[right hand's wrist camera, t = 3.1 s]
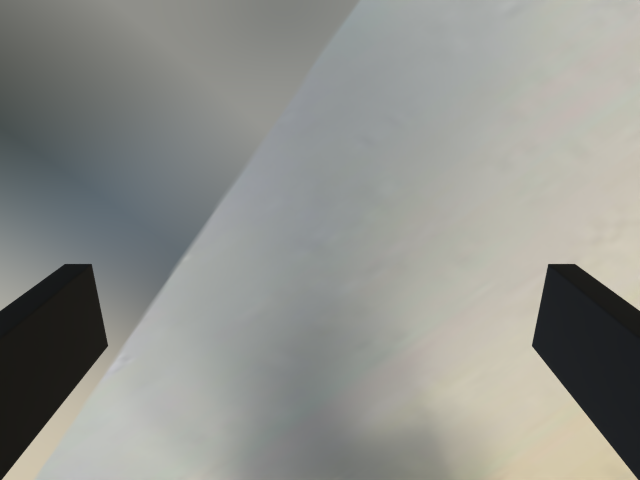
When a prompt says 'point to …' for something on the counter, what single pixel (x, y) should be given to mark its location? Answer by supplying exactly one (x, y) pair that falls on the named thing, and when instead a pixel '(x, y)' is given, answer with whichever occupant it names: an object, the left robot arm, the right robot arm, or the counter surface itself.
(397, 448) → the counter surface
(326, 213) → the counter surface
